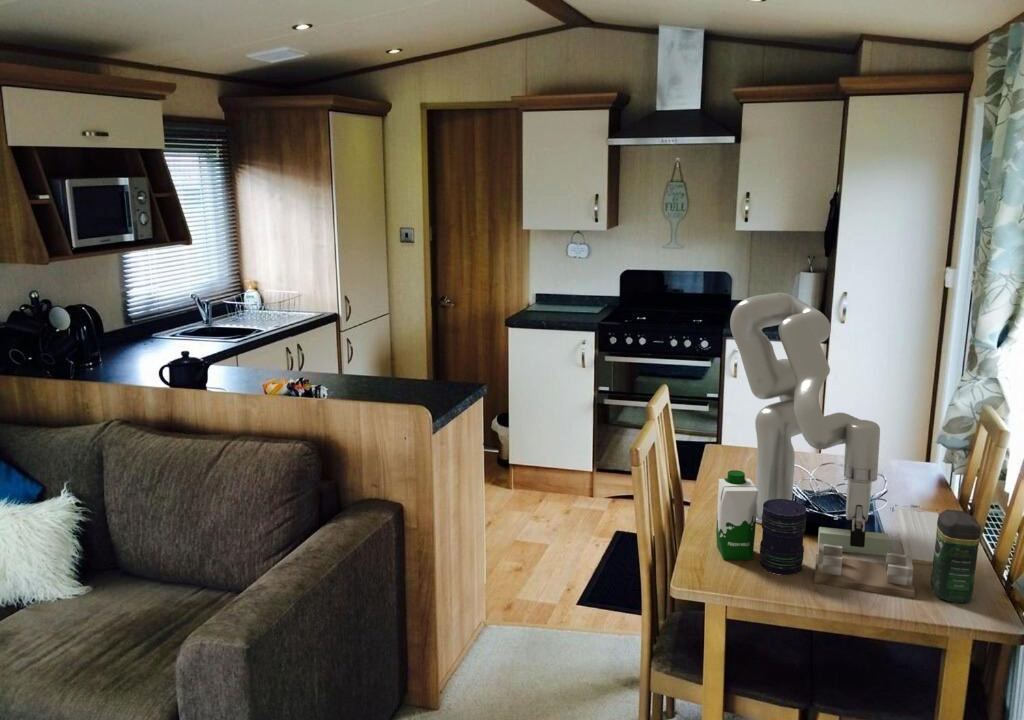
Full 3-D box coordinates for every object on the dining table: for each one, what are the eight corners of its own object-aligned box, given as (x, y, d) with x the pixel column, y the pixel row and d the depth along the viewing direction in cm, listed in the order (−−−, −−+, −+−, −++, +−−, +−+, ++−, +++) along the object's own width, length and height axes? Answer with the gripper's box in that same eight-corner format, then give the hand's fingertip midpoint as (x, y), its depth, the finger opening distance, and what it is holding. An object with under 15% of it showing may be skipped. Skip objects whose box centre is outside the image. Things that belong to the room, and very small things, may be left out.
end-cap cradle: (814, 582, 194) (816, 560, 193) (815, 559, 205) (817, 538, 203) (914, 598, 187) (916, 575, 185) (910, 573, 198) (912, 551, 196)
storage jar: (751, 567, 201) (755, 508, 198) (769, 552, 209) (773, 495, 205) (792, 580, 195) (797, 519, 192) (809, 564, 202) (813, 505, 199)
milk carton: (747, 545, 213) (752, 469, 208) (757, 561, 204) (762, 483, 199) (712, 545, 213) (715, 469, 208) (720, 562, 204) (724, 483, 199)
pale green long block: (818, 549, 211) (819, 532, 210) (817, 543, 214) (819, 526, 213) (888, 557, 206) (890, 539, 205) (886, 550, 210) (888, 533, 209)
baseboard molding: (899, 563, 204) (955, 570, 200) (900, 552, 203) (956, 559, 200) (888, 512, 233) (937, 518, 229) (889, 502, 232) (938, 507, 228)
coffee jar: (976, 606, 183) (986, 526, 179) (936, 602, 185) (945, 522, 181) (964, 584, 192) (974, 508, 188) (926, 581, 194) (934, 504, 190)
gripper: (843, 459, 214) (840, 523, 218) (843, 482, 199) (840, 550, 202) (876, 461, 212) (872, 526, 215) (879, 485, 196) (874, 554, 199)
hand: (856, 538), depth 209 cm, fingers open, 9 cm apart
